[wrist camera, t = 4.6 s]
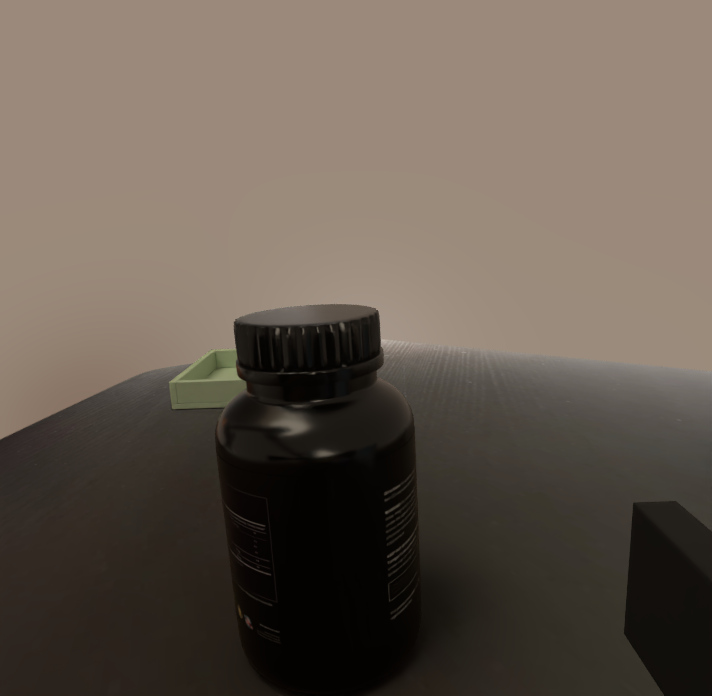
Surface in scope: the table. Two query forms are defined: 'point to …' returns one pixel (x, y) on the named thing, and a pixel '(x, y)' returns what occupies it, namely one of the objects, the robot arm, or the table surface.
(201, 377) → the tray
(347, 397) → the supplement bottle
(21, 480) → the table surface
